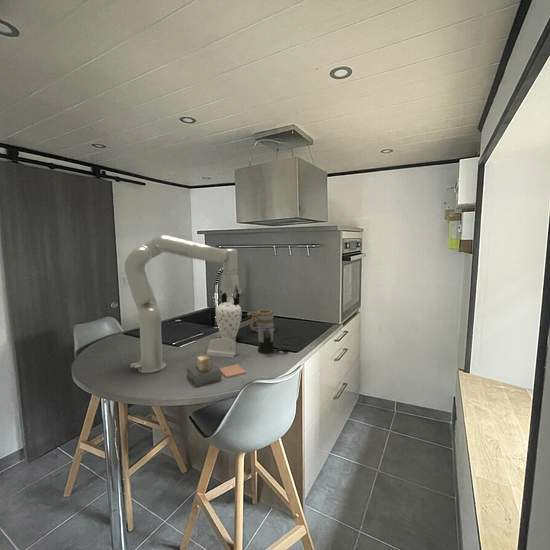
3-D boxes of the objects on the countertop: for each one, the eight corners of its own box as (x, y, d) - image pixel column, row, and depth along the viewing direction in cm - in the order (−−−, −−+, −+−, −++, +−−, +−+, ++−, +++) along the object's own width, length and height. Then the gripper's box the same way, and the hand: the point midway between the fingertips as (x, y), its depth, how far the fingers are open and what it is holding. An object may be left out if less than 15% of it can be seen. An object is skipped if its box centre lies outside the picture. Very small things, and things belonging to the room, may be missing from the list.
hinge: (205, 354, 166) (208, 336, 168) (209, 354, 171) (211, 336, 173) (234, 357, 162) (236, 339, 165) (237, 357, 167) (239, 339, 169)
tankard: (268, 327, 219) (268, 307, 218) (277, 332, 208) (277, 310, 207) (243, 331, 210) (243, 310, 208) (250, 336, 199) (250, 314, 197)
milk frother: (255, 349, 175) (255, 324, 174) (279, 345, 183) (279, 321, 181) (265, 358, 163) (265, 331, 161) (290, 353, 170) (291, 327, 168)
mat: (226, 378, 138) (226, 376, 138) (218, 370, 147) (218, 368, 147) (246, 373, 144) (246, 371, 144) (237, 365, 152) (237, 364, 152)
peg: (200, 381, 135) (200, 360, 134) (197, 378, 139) (197, 357, 137) (210, 379, 137) (209, 358, 136) (206, 375, 141) (206, 355, 140)
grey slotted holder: (194, 387, 130) (194, 376, 129) (187, 376, 140) (186, 366, 139) (221, 380, 136) (221, 370, 135) (211, 370, 146) (211, 361, 146)
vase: (211, 343, 185) (210, 286, 181) (223, 335, 201) (222, 283, 197) (234, 346, 180) (234, 288, 176) (245, 337, 196) (245, 284, 192)
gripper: (214, 271, 163) (214, 302, 165) (236, 273, 152) (236, 307, 154) (225, 270, 169) (225, 300, 171) (246, 272, 158) (246, 305, 160)
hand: (230, 303), depth 162 cm, fingers open, 9 cm apart
